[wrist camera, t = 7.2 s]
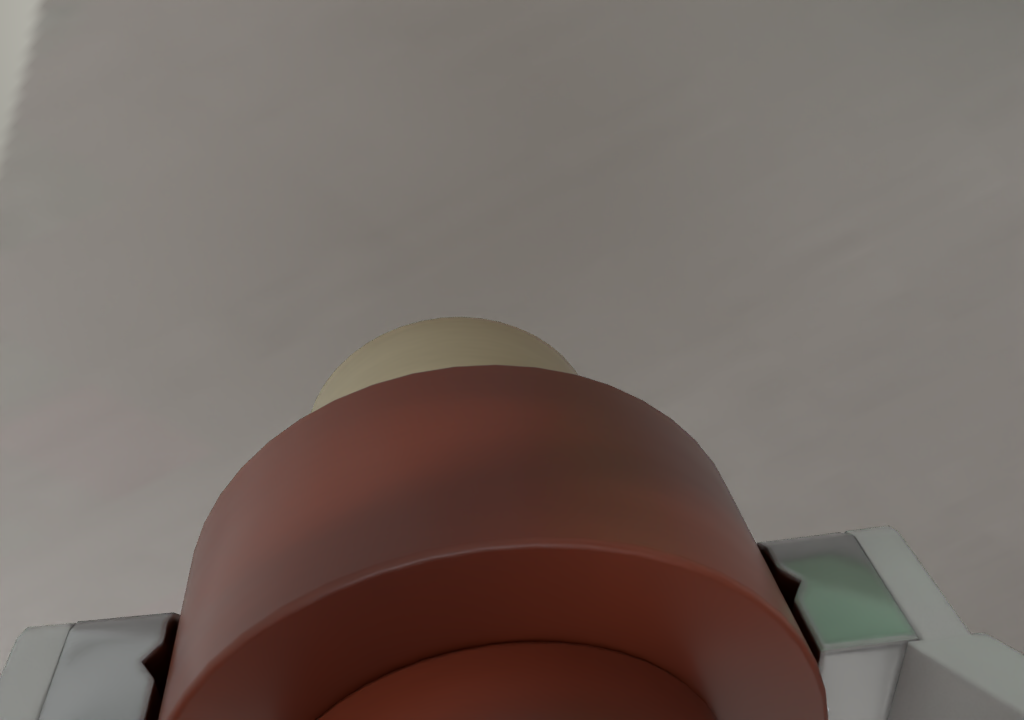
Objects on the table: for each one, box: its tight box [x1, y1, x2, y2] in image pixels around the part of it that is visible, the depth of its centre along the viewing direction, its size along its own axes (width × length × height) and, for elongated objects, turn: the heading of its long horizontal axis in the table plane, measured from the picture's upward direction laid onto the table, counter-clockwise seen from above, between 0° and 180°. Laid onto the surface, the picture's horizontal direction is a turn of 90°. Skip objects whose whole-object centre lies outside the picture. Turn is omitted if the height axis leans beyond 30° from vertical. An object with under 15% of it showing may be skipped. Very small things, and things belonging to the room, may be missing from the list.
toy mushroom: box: [158, 317, 828, 720], centre depth 11 cm, size 6×6×7 cm
